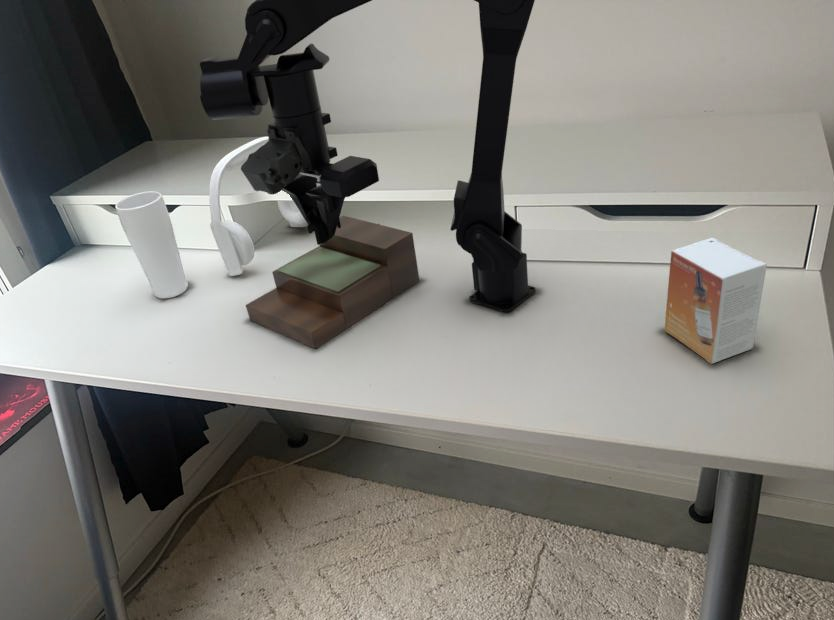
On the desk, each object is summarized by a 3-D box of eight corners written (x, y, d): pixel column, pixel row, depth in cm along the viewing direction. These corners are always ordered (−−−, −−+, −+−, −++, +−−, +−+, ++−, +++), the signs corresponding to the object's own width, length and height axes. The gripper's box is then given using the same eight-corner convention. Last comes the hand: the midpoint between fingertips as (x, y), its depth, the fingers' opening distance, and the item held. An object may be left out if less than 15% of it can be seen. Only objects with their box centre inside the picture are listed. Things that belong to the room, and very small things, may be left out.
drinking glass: (141, 302, 109) (105, 210, 101) (163, 281, 114) (130, 191, 106) (180, 302, 107) (146, 208, 99) (201, 280, 113) (170, 189, 104)
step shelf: (419, 281, 102) (412, 232, 98) (315, 349, 91) (302, 298, 87) (352, 260, 111) (343, 215, 106) (249, 320, 100) (235, 272, 95)
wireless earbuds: (317, 253, 91) (308, 216, 88) (301, 251, 92) (292, 214, 89) (346, 229, 96) (339, 193, 93) (330, 227, 97) (323, 192, 94)
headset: (248, 283, 109) (214, 170, 99) (215, 277, 113) (179, 167, 103) (325, 228, 123) (302, 123, 113) (293, 224, 126) (268, 122, 116)
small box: (663, 331, 83) (668, 249, 77) (703, 317, 84) (712, 235, 78) (711, 365, 76) (722, 278, 71) (754, 349, 78) (768, 262, 72)
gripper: (196, 124, 86) (231, 243, 94) (296, 140, 74) (326, 274, 83) (267, 97, 92) (294, 211, 101) (370, 108, 81) (391, 236, 89)
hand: (323, 232), depth 93 cm, fingers closed on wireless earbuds, 3 cm apart
